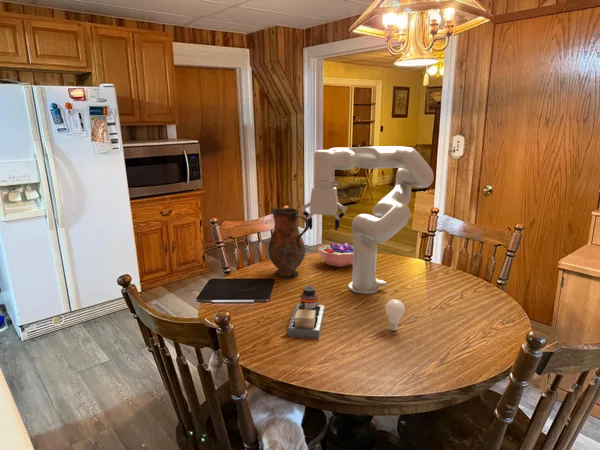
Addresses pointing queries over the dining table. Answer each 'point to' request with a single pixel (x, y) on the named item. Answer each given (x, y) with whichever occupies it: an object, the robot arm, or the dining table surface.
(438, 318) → the dining table surface
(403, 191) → the robot arm
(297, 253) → the pitcher
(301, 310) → the birch block
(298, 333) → the tray
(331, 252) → the cell model
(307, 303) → the supplement bottle
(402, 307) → the lightbulb
